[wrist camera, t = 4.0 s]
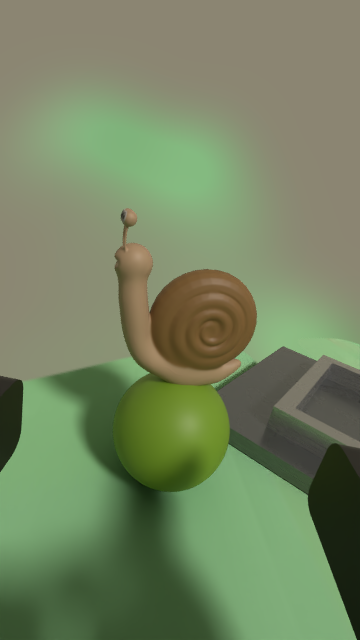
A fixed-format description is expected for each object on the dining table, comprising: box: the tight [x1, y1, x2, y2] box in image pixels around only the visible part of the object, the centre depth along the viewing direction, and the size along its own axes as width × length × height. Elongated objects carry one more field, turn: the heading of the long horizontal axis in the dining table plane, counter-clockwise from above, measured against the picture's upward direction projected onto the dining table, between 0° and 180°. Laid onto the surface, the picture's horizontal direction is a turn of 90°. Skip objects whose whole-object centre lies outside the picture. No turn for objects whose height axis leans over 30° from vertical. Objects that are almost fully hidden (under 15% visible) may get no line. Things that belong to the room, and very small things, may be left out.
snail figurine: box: [113, 208, 257, 492], centre depth 14 cm, size 5×6×12 cm
